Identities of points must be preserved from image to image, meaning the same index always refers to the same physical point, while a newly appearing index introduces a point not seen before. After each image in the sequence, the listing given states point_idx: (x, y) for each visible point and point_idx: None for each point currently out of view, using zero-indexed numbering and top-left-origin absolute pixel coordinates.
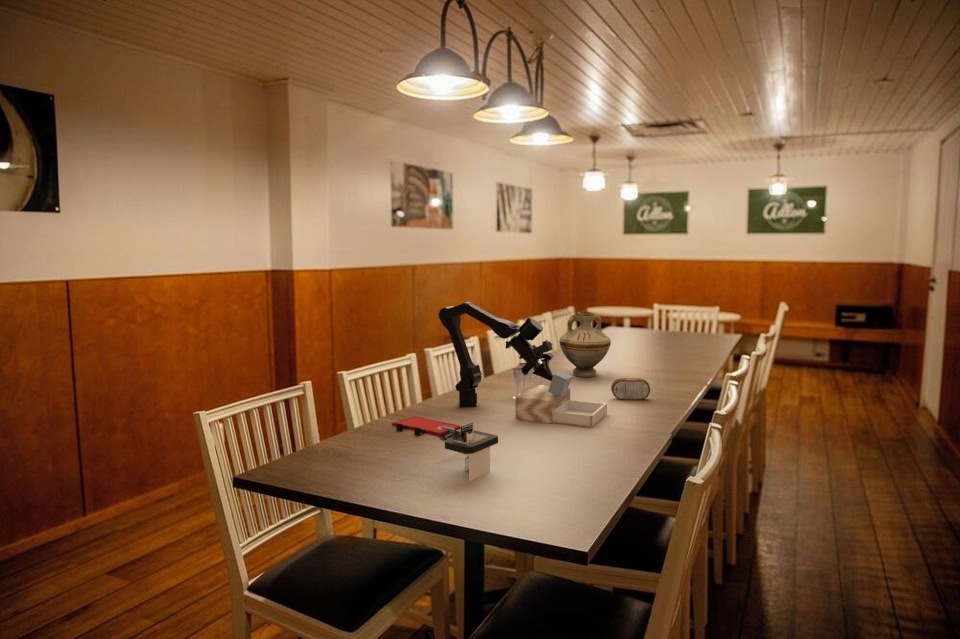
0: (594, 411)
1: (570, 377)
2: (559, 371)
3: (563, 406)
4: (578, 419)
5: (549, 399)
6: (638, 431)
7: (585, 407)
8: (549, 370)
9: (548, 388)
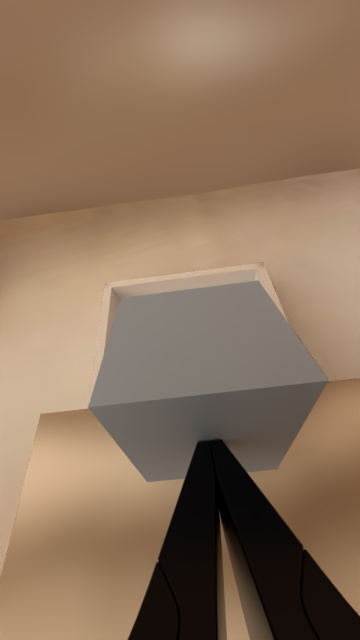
0: None
1: (159, 295)
2: (118, 396)
3: None
4: None
5: (352, 399)
6: (216, 219)
7: None
8: (196, 590)
9: (64, 592)
